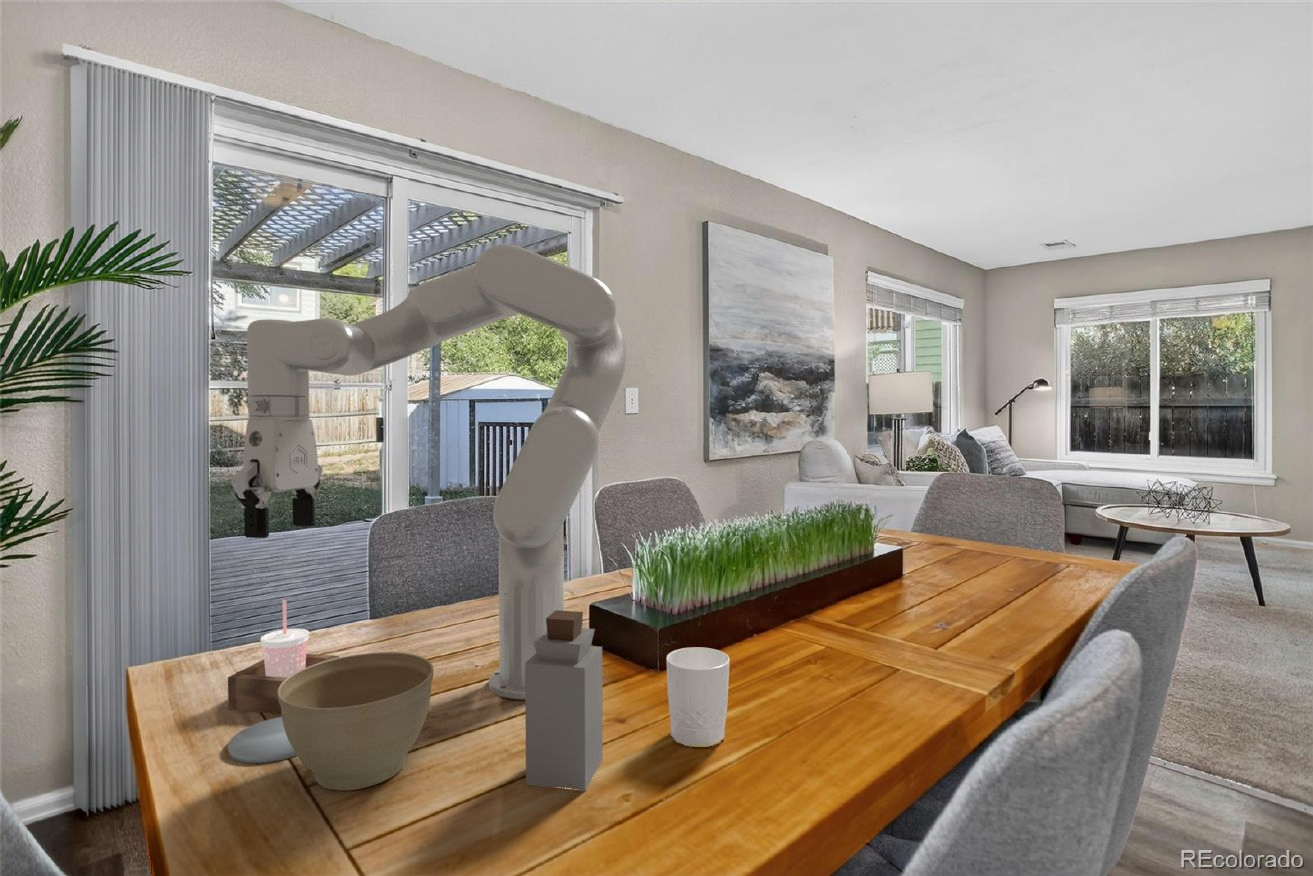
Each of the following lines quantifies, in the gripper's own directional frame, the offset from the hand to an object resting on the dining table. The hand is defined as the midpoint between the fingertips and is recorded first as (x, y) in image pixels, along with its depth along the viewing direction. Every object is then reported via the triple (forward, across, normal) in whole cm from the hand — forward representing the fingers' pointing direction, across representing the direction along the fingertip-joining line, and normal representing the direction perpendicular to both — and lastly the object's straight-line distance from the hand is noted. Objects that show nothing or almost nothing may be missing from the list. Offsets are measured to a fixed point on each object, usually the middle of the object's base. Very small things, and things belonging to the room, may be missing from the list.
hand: (281, 531), depth 99 cm
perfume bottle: (+24, -14, -45) cm, 53 cm away
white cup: (+24, -3, -59) cm, 64 cm away
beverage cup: (+24, 0, 0) cm, 24 cm away
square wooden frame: (+24, 0, 0) cm, 24 cm away
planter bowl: (+24, -17, -22) cm, 37 cm away
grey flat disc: (+24, -12, -8) cm, 28 cm away
